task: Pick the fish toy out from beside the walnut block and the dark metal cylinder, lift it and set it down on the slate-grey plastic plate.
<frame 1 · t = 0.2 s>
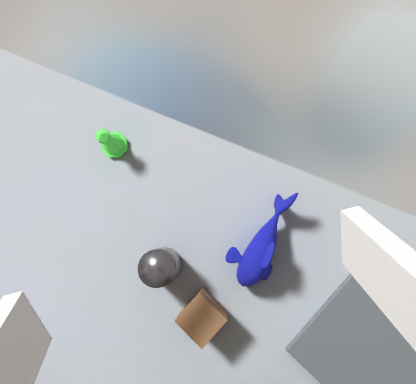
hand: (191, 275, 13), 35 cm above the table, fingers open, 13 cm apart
dark metal cylinder: (165, 264, 47), on the table
slate plate: (375, 335, 44), on the table
fish toy: (260, 237, 47), on the table
walnut block: (203, 311, 46), on the table
game piece: (115, 146, 50), on the table
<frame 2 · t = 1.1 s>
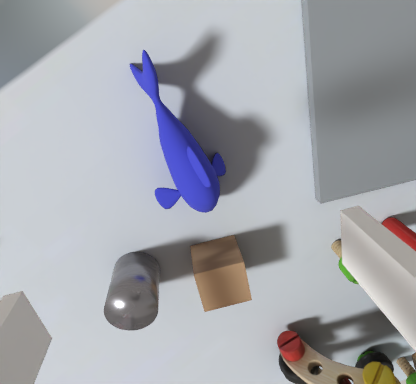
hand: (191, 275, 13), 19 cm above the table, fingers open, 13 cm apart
dark metal cylinder: (137, 270, 35), on the table
slate plate: (389, 87, 30), on the table
fish toy: (171, 136, 29), on the table
toy construction set: (353, 303, 42), on the table
walnut block: (216, 257, 35), on the table
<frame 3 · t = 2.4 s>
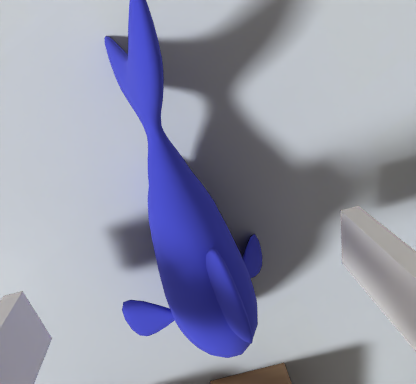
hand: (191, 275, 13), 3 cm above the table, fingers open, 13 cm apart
fish toy: (172, 194, 15), on the table
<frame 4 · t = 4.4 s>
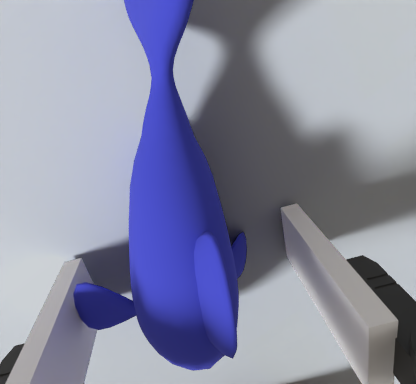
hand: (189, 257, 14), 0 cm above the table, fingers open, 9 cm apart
fish toy: (160, 167, 13), on the table, touching gripper
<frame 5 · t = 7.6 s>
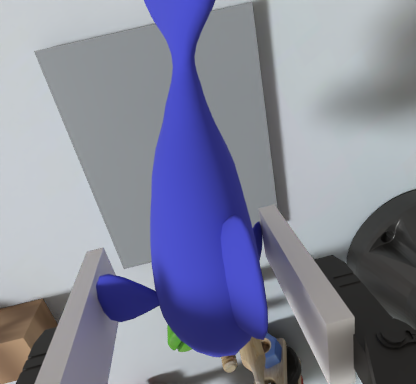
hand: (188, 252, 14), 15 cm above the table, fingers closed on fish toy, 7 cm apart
slate plate: (177, 151, 28), on the table
fish toy: (176, 159, 13), point 14 cm above the table, touching gripper
toy construction set: (217, 356, 40), on the table
walnut block: (29, 320, 33), on the table
when the fingers open (3 cm above the table, at t = 10.7 s): fish toy drops 1 cm, resting on slate plate.
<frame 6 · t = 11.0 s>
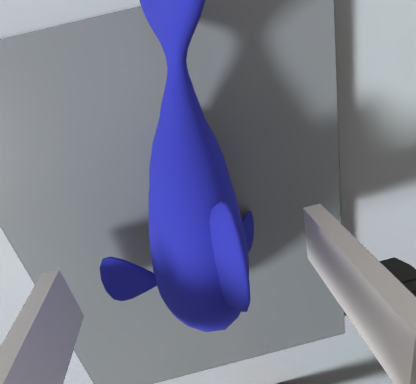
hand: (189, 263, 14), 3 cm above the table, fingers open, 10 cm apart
slate plate: (185, 224, 17), on the table
fish toy: (173, 153, 14), point 1 cm above the table, touching slate plate
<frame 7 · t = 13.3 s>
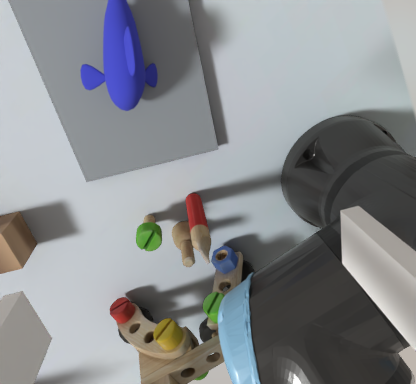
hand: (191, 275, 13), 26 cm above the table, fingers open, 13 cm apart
slate plate: (126, 77, 33), on the table
fish toy: (118, 28, 30), point 1 cm above the table, touching slate plate
toy construction set: (186, 272, 46), on the table
walnut block: (9, 232, 39), on the table
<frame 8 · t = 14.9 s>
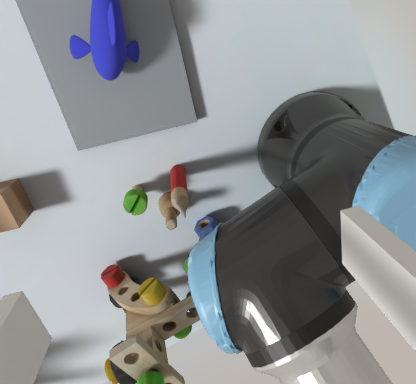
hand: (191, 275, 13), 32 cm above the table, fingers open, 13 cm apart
slate plate: (113, 54, 37), on the table
fish toy: (105, 7, 34), point 1 cm above the table, touching slate plate
toy construction set: (173, 243, 50), on the table
walnut block: (8, 198, 43), on the table
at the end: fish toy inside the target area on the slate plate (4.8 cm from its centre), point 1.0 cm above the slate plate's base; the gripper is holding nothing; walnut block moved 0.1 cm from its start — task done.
